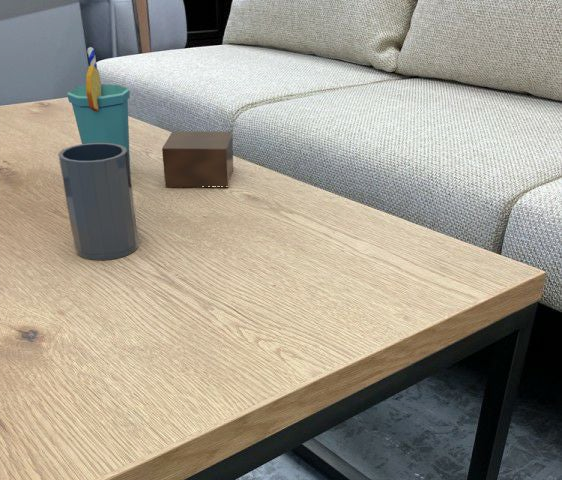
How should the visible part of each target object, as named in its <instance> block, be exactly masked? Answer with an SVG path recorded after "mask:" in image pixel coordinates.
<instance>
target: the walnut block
mask: <svg viewBox="0 0 562 480" xmlns="http://www.w3.org/2000/svg"><path fill="white" fill-rule="evenodd" d="M233 150H234V149H233V132H232V131H208V130H207V131H202V130H201V131H197V130H196V131H193V130H191V131H189V130H188V131H186V130H184V131H183V130H182V131H181V130H179V131H178V130H174V131H171V132H170V134H169V136H168V138H167V139H166V141H165V143H164V144H163V146H162V148H161V153H162V163H163V173H164V183H165V188H167V187H202V186H204V187H208V186H210V187H212V186H216V187H217V186H220V187H221V186H223V187H226V186H228V187H229V185H230V182H229V181H231V178H230V177H232V175H231V174H233V171H234V152H233ZM228 184H229V185H228Z"/></svg>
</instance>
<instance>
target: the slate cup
mask: <svg viewBox="0 0 562 480" xmlns="http://www.w3.org/2000/svg"><path fill="white" fill-rule="evenodd" d="M57 157H58V162H59V163H58V164H59V168H60V175H61V178H62V180H61V181H62V185H63V190H64V196H65V202H66V206H67V213H68V218H69V224H70V228H71V235H72V240H73V245H74V251H75V253H76V255H78V256H79V257H81V258H83V259H87V260H93V261H109V260H117V259H120V258H124V257H126V256H129V255H131V254H132V253H134V252H135V251H136V250H137V249H138V248H139V235H138V234H139V233H138V227H137V219H136V210H135V209H136V208H135V202H134V193H133V186H132V178H131V168H130V169H129V161H128V153H127V150H126V148H125V147H123V146H121V145H118V144H112V143H88V144H82V143H80V144H76V145H71V146H68V147H66V148H63V149H61V150H60V151H59V152H58V153H57Z"/></svg>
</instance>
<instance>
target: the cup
mask: <svg viewBox="0 0 562 480" xmlns="http://www.w3.org/2000/svg"><path fill="white" fill-rule="evenodd" d="M86 50H87V51H86V53H87V55H88V60H89V66H88V70H87V72H86V75H85V79H86V81H85V85H82V86H77V87H75V88H73V89H71V90H69V91H68V92H67V94H66V96H67V99H68V102H69V103H70V104H71V107H72V111H73V114H74V115H73V116H74V118H75V123H76V126H77V130H78V134H79V138H80V142H81V144H88V143H112V144H118V145H121V146H123V147H125V148H126V150H127V153H128V161H129V169H130V170H131V157H130V156H131V155H130V131H129V130H130V129H129V128H130V127H129V125H130V124H129V99H130V97H131V96H130V91H131V90H130V89H129V88H128V87H126V86H122V85H119V84H102V81H101V77H100V72H99V71H100V70H99V69H98V65H97V64H98V63H97V59H96V52H95V49H94V47H91V46H89V47H88V48H87V49H86Z"/></svg>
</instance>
